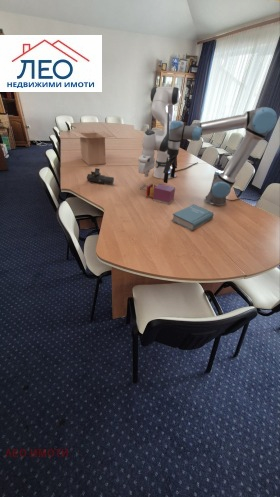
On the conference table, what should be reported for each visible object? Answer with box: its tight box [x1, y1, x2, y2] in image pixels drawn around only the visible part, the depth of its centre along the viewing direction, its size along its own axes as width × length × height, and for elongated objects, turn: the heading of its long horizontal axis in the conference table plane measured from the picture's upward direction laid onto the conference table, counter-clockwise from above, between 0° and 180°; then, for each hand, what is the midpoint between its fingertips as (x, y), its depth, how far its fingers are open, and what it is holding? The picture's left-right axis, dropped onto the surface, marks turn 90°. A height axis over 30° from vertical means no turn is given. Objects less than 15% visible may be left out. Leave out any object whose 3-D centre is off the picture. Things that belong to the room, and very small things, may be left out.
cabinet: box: [152, 183, 176, 205], centre depth 164 cm, size 13×10×10 cm
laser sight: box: [86, 168, 115, 185], centre depth 184 cm, size 10×22×10 cm, turn 78°
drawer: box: [139, 183, 158, 199], centre depth 167 cm, size 17×9×8 cm, turn 63°
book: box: [171, 203, 215, 231], centre depth 142 cm, size 23×16×5 cm
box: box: [70, 129, 114, 166], centre depth 229 cm, size 44×36×27 cm
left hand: (146, 176), depth 163 cm, fingers closed
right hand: (168, 180), depth 157 cm, fingers open, 13 cm apart
